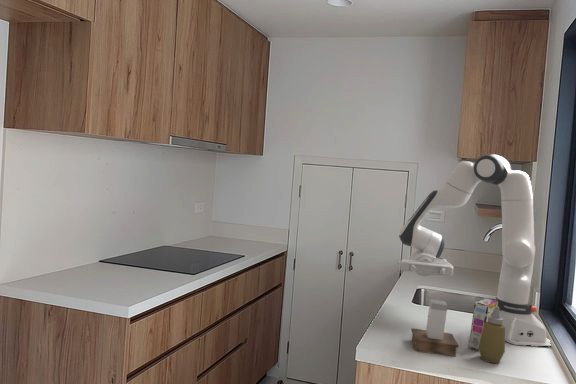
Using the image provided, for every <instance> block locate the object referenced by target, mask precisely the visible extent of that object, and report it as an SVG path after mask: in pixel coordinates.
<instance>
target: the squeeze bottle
mask: <svg viewBox="0 0 576 384" xmlns="http://www.w3.org/2000/svg"><path fill="white" fill-rule="evenodd" d="M502 324H503V318H501V317H500V310H499V307H497V306H495V309H494V311H493V314H492V316H488V322H485V323H484V327H483V331H482V335H481V339H480V343H479V355H480V358H481V360H483V361H485V362H488V363H492V364H498V363H501V362H500V361H501V360H502V358H503V356H504V354H505V351H506V350H505V349H506V341H505V327H504V325H502Z"/></svg>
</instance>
